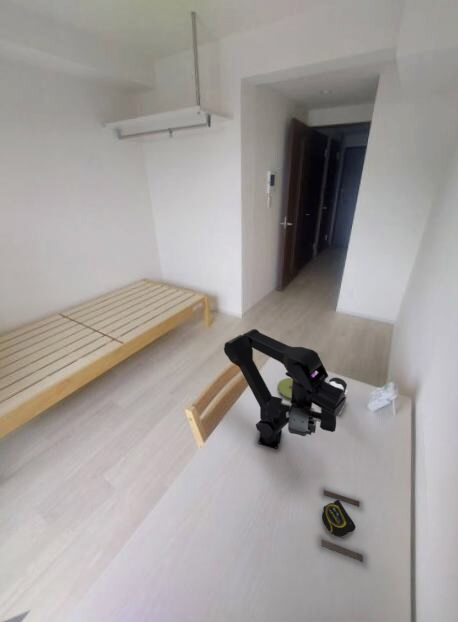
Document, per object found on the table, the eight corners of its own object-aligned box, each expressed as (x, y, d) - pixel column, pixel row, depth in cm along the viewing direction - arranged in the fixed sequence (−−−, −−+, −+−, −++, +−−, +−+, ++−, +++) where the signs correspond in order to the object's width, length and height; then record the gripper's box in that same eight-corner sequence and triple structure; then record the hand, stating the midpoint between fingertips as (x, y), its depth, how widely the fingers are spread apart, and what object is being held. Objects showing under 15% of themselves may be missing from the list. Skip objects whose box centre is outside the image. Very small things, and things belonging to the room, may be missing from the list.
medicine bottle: (326, 395, 108) (331, 372, 102) (344, 403, 104) (351, 380, 98) (320, 407, 103) (325, 383, 97) (339, 416, 99) (345, 391, 93)
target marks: (321, 545, 65) (321, 545, 65) (323, 490, 76) (323, 489, 76) (362, 561, 63) (363, 561, 62) (358, 502, 74) (359, 501, 73)
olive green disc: (310, 389, 110) (311, 386, 110) (297, 406, 103) (297, 402, 102) (286, 377, 117) (287, 374, 116) (272, 392, 110) (272, 388, 109)
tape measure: (355, 533, 67) (358, 525, 66) (331, 543, 66) (334, 536, 64) (337, 504, 73) (340, 497, 71) (315, 513, 71) (317, 505, 70)
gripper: (261, 407, 68) (260, 447, 75) (339, 425, 63) (331, 467, 70) (270, 378, 78) (268, 417, 85) (339, 392, 72) (331, 432, 79)
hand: (297, 433), depth 79 cm, fingers closed
